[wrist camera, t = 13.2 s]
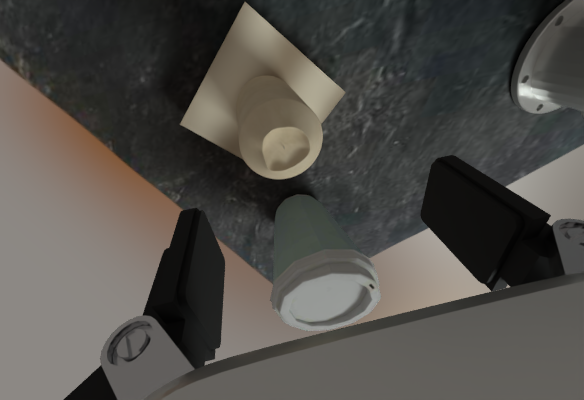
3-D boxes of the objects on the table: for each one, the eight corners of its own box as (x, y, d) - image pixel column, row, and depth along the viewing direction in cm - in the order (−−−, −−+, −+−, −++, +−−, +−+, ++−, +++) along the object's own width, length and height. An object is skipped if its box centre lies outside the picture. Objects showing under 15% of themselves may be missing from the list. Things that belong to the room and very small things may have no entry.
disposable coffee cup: (287, 250, 39) (313, 352, 27) (240, 209, 33) (247, 317, 21) (346, 212, 37) (402, 304, 25) (307, 161, 31) (357, 250, 19)
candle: (266, 147, 25) (283, 204, 17) (223, 107, 22) (219, 153, 14) (307, 107, 24) (346, 150, 16) (266, 59, 21) (289, 81, 13)
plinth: (335, 86, 26) (345, 92, 24) (274, 166, 30) (278, 179, 28) (243, 4, 21) (244, 1, 19) (184, 114, 25) (180, 124, 23)
